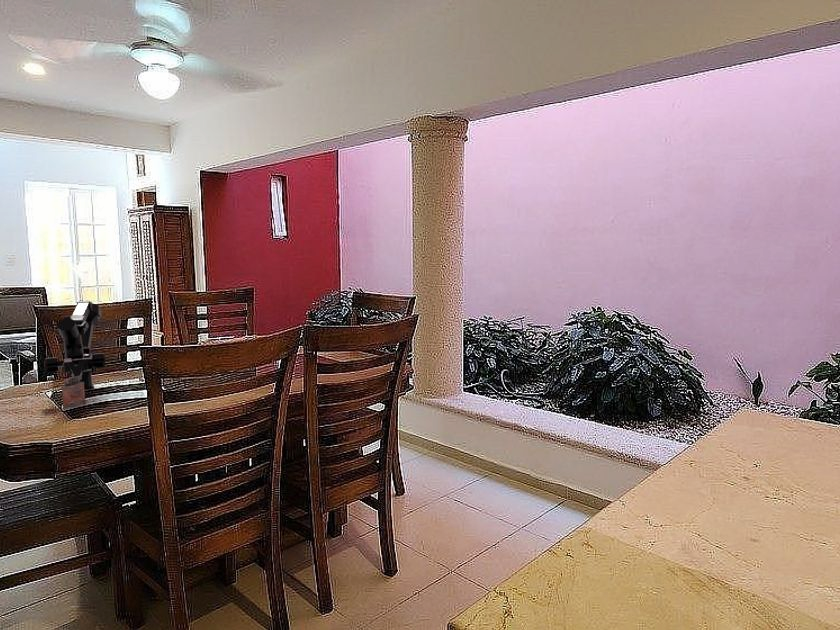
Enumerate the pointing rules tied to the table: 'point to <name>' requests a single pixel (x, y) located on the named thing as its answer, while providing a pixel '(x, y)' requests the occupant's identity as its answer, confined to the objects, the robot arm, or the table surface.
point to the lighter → (73, 392)
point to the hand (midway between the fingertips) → (77, 381)
